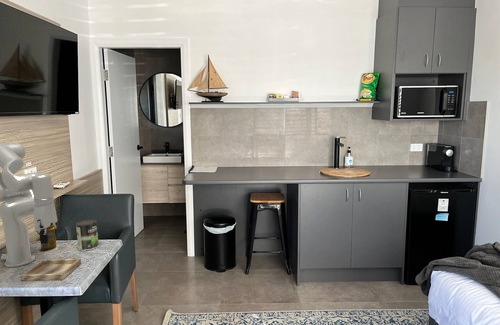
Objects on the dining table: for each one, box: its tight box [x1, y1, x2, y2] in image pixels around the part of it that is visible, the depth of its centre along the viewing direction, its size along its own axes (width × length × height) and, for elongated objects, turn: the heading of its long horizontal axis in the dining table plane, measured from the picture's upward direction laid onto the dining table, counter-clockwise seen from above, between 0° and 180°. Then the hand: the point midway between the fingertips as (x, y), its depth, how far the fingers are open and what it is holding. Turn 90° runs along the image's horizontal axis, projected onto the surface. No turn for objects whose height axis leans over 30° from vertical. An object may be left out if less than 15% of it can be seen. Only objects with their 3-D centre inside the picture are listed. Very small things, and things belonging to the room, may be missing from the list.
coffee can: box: [75, 219, 100, 252], centre depth 185 cm, size 10×10×14 cm
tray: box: [20, 258, 82, 282], centre depth 158 cm, size 18×16×2 cm
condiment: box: [38, 222, 59, 254], centre depth 154 cm, size 7×8×12 cm
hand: (48, 240), depth 155 cm, fingers closed on condiment, 6 cm apart
